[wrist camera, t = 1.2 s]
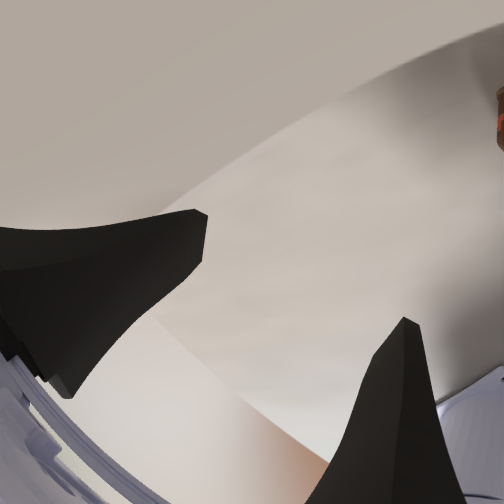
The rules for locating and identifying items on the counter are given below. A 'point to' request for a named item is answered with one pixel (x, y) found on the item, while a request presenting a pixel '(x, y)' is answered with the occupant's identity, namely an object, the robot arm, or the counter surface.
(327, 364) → the counter surface
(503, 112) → the tin
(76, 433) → the robot arm
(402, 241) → the counter surface
